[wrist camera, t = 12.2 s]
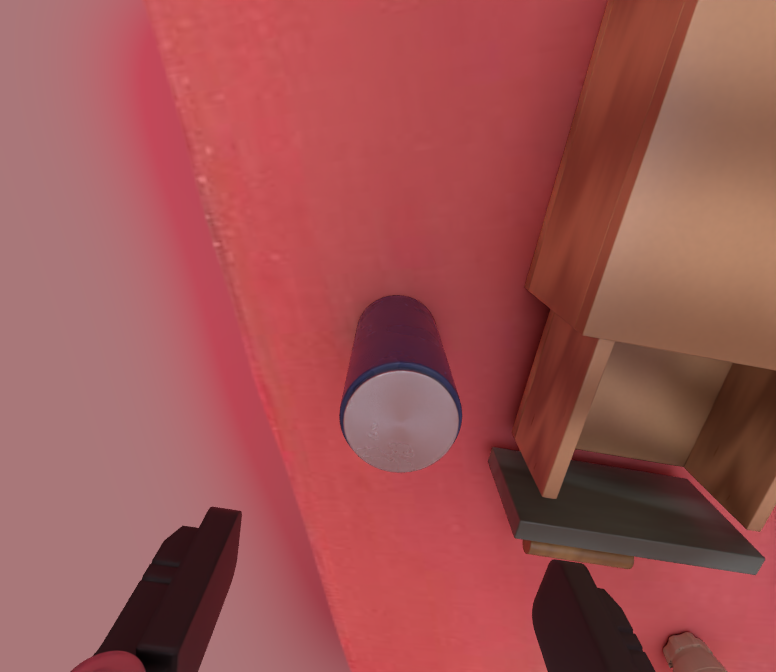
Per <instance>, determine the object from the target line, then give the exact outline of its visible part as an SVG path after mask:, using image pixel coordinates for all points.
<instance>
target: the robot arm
mask: <svg viewBox="0 0 776 672" xmlns="http://www.w3.org/2000/svg"><path fill="white" fill-rule="evenodd" d="M241 517H242V513H241V511H237V510H231V509H224V508H218V507H210V509H209V510H208V512H207V514H206V515H205V518H204V519H203V521H202V523H201V525H200V527H199V528H195V527H188V526H182V527H181V528H179V529H178V530H177V531H176V532H174V533H173V534H172V535H171V536H170V537H168V538H167V539H166V540H165V541H164V542H163V543H162V545H161V547H160V549H159V550H158V552H157V554H156V555H155V557H154V558H153V560H152V563H151V564H150V565H149V567H148V568H147V570H146V572H145V573H144V575H143V578H142V580H141V581H140V582H139V583H138V585H137V587H136V589H135V590H134V592H133V593H132V595H131V597H130V598H129V600H128V602H127V603H126V605H125V607H124V608H123V610H122V612H121V613H120V615H119V617H118V619H117V620H116V622H115V623H114V625H113V627H112V628H111V630H110V632H109V633H108V635H107V637H106V639H105V640H104V642H103V643H102V645H101V646H100V648H99V649H98V650H97V652H96V653H95V654H94V655H93V656H92V657H91V658H89V659H87V660H85V661H83V662H82V663H80V664H79V665H78V666H76V667H75V668H74V669H73V670H72V671H71V672H198V670H199V667H200V665H201V662H202V659H203V657H204V654H205V651H206V649H207V646H208V643H209V641H210V638H211V636H212V633H213V630H214V628H215V625H216V622H217V619H218V617H219V614H220V612H221V609H222V606H223V604H224V601H225V598H226V595H227V593H228V590H229V588H230V585H231V582H232V579H233V575H234V571H235V567H236V562H237V555H238V546H239V537H240V527H241ZM532 619H533V626H534V630H535V633H536V637H537V640H538V643H539V646H540V649H541V652H542V655H543V658H544V661H545V664H546V667H547V671H548V672H655V670H654V668H653V666H652V664H651V662H650V660H649V659H648V657H647V655H646V653H645V652H643V650H642V648H643V647H642V646H641V644H640V642H639V640H638V638H637V636H636V634H633V629H632V627H631V625H630V623H629V621H628V620H627V618H626V616H625V614H624V612H623V610H622V608H621V607H620V606H619V605H618V604H617V603H616V602H615V601H614V600H613V598H612V597H611V596H610V595H609V594H608V593H607V592H606V591H605V590H604V589H601V588H597V587H596V585H595V583H594V581H593V579H592V577H591V575H590V573H589V571H588V569H587V568H586V566H585V565H584V564H582V563H575V562H569V561H562V560H555V559H554V560H552V561H551V562H550V563H549V565H548V568H547V570H546V572H545V575H544V577H543V580H542V582H541V585H540V587H539V590H538V592H537V595H536V597H535V600H534V603H533V609H532Z"/></svg>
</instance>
